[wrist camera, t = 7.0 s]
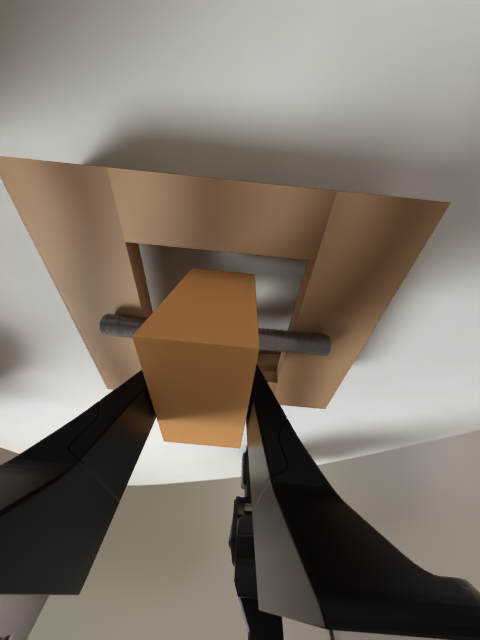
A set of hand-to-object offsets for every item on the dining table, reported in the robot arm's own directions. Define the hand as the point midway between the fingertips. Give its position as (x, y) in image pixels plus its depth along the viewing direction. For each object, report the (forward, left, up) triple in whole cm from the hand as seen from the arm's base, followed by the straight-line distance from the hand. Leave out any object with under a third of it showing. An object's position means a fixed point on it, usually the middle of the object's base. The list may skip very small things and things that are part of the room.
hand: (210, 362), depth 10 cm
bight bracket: (0, 0, -4) cm, 4 cm away
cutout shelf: (0, 0, -8) cm, 8 cm away
